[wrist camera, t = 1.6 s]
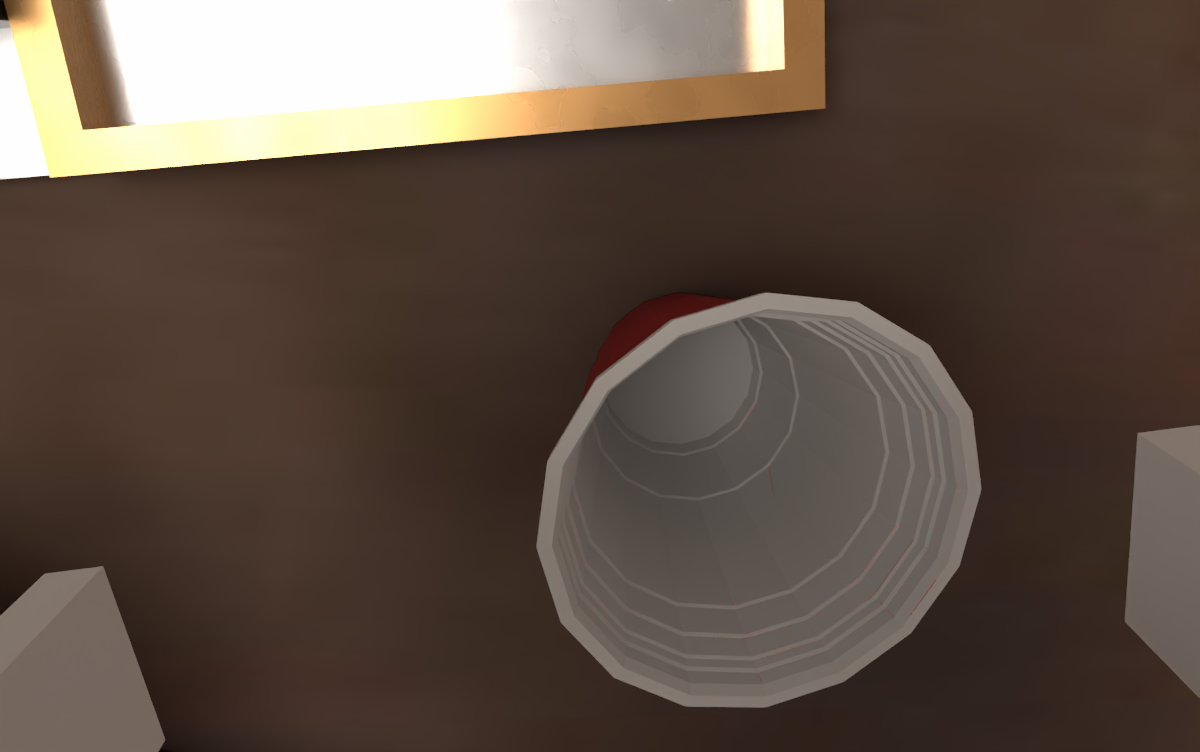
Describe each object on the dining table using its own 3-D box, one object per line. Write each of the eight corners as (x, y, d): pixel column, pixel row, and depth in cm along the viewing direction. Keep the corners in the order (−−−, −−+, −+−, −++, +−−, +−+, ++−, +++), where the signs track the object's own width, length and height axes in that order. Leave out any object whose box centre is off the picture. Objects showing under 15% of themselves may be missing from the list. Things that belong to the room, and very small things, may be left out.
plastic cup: (765, 544, 35) (884, 765, 23) (492, 467, 33) (475, 666, 21) (879, 277, 32) (1079, 378, 20) (588, 177, 30) (629, 226, 19)
